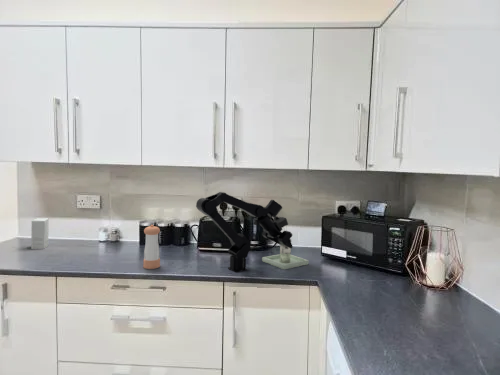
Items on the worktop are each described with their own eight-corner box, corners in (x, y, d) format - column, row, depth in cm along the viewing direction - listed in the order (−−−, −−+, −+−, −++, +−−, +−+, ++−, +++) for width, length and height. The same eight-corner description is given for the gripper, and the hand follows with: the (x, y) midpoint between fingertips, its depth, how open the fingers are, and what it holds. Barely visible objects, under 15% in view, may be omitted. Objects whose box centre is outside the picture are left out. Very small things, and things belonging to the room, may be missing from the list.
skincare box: (35, 246, 184) (35, 218, 184) (49, 245, 186) (49, 217, 186) (30, 249, 176) (30, 220, 176) (45, 249, 178) (44, 220, 178)
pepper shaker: (155, 269, 147) (155, 226, 146) (140, 268, 149) (140, 225, 148) (162, 265, 154) (163, 224, 153) (148, 263, 156) (148, 223, 155)
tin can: (290, 263, 160) (290, 241, 159) (278, 262, 161) (279, 240, 160) (290, 260, 165) (291, 238, 164) (280, 259, 166) (280, 238, 165)
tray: (283, 269, 152) (283, 265, 152) (262, 261, 165) (262, 257, 165) (308, 264, 161) (308, 260, 161) (286, 256, 174) (286, 253, 174)
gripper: (289, 214, 151) (308, 236, 157) (268, 209, 167) (285, 230, 173) (274, 232, 148) (293, 255, 154) (254, 226, 164) (272, 246, 170)
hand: (286, 245), depth 163 cm, fingers open, 9 cm apart
